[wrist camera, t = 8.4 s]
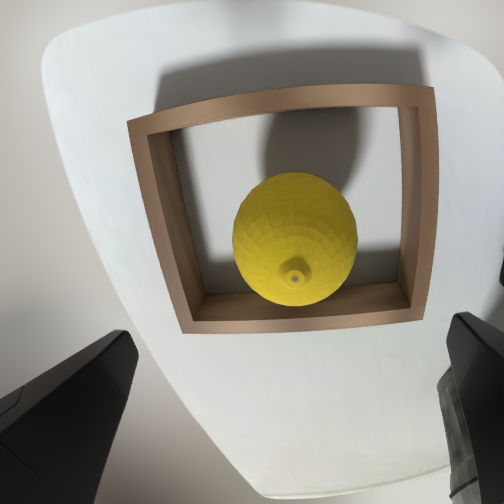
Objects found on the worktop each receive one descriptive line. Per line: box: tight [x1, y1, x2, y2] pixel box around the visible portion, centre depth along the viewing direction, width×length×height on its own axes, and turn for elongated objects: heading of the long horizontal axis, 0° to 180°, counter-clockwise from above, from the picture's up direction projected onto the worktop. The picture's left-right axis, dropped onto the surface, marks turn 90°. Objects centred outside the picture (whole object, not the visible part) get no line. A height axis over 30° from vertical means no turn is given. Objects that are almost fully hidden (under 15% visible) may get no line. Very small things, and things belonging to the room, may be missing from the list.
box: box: [127, 84, 439, 334], centre depth 16 cm, size 15×13×3 cm
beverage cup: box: [437, 369, 481, 504], centre depth 12 cm, size 7×7×20 cm
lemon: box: [232, 172, 358, 306], centre depth 13 cm, size 6×6×8 cm
